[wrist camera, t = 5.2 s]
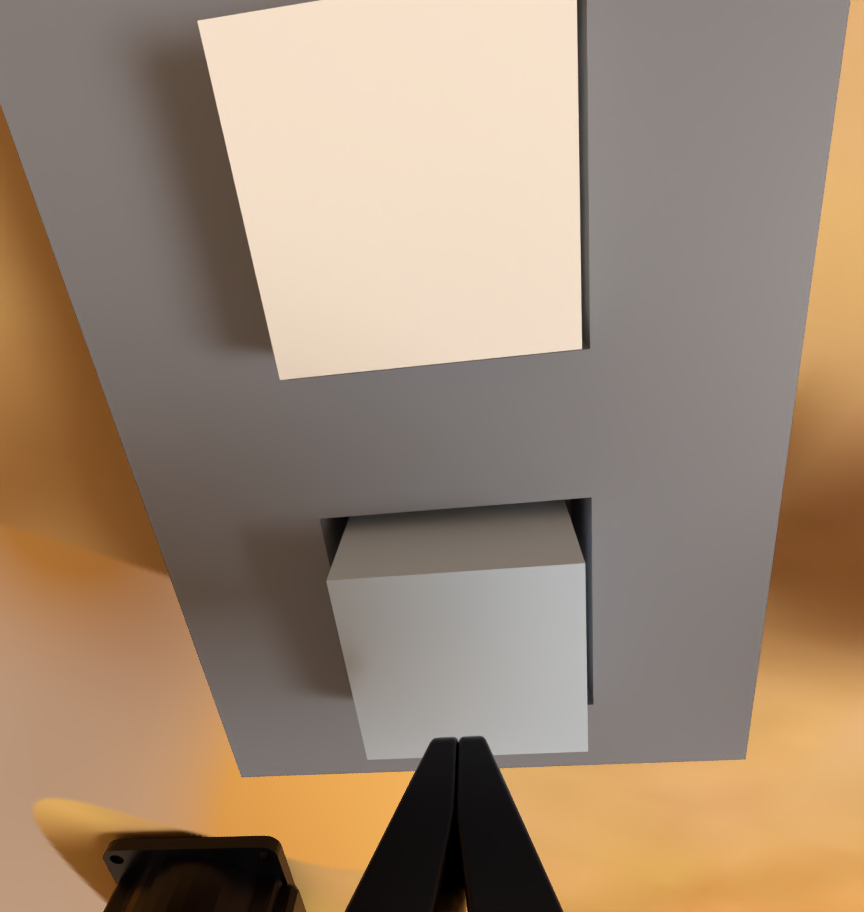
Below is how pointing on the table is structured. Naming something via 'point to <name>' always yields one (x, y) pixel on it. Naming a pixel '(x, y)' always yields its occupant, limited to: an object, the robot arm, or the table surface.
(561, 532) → the bluegrey key
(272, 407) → the keypad
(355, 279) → the cream key
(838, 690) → the table surface
